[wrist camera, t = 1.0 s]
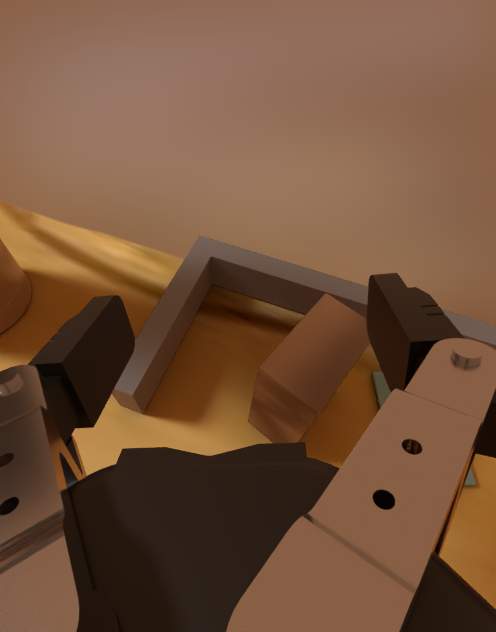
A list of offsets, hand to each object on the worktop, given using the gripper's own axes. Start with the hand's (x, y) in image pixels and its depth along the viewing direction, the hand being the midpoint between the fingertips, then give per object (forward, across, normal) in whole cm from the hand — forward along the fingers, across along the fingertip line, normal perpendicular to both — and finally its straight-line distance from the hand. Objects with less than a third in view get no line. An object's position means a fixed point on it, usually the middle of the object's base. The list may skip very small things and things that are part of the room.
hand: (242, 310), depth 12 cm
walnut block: (+11, -2, +16) cm, 20 cm away
